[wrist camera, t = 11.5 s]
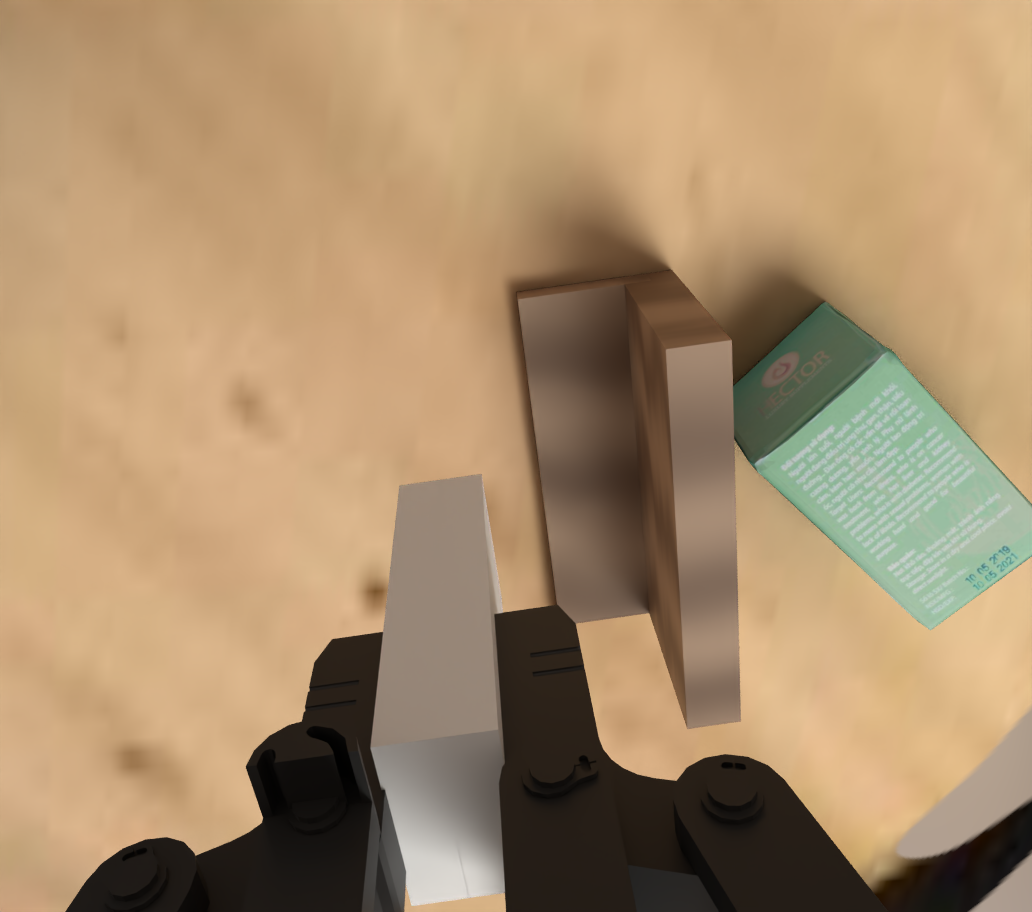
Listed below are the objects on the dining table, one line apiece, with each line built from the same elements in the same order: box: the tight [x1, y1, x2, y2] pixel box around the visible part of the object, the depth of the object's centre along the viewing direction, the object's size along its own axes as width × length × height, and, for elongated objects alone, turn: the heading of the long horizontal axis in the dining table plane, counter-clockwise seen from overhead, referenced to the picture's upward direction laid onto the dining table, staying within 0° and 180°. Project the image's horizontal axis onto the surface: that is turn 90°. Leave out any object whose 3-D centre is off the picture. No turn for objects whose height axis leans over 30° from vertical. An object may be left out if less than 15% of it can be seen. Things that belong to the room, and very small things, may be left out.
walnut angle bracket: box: [516, 270, 741, 729], centre depth 41 cm, size 18×7×10 cm, turn 7°
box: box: [733, 302, 1032, 630], centre depth 43 cm, size 7×14×8 cm, turn 47°
